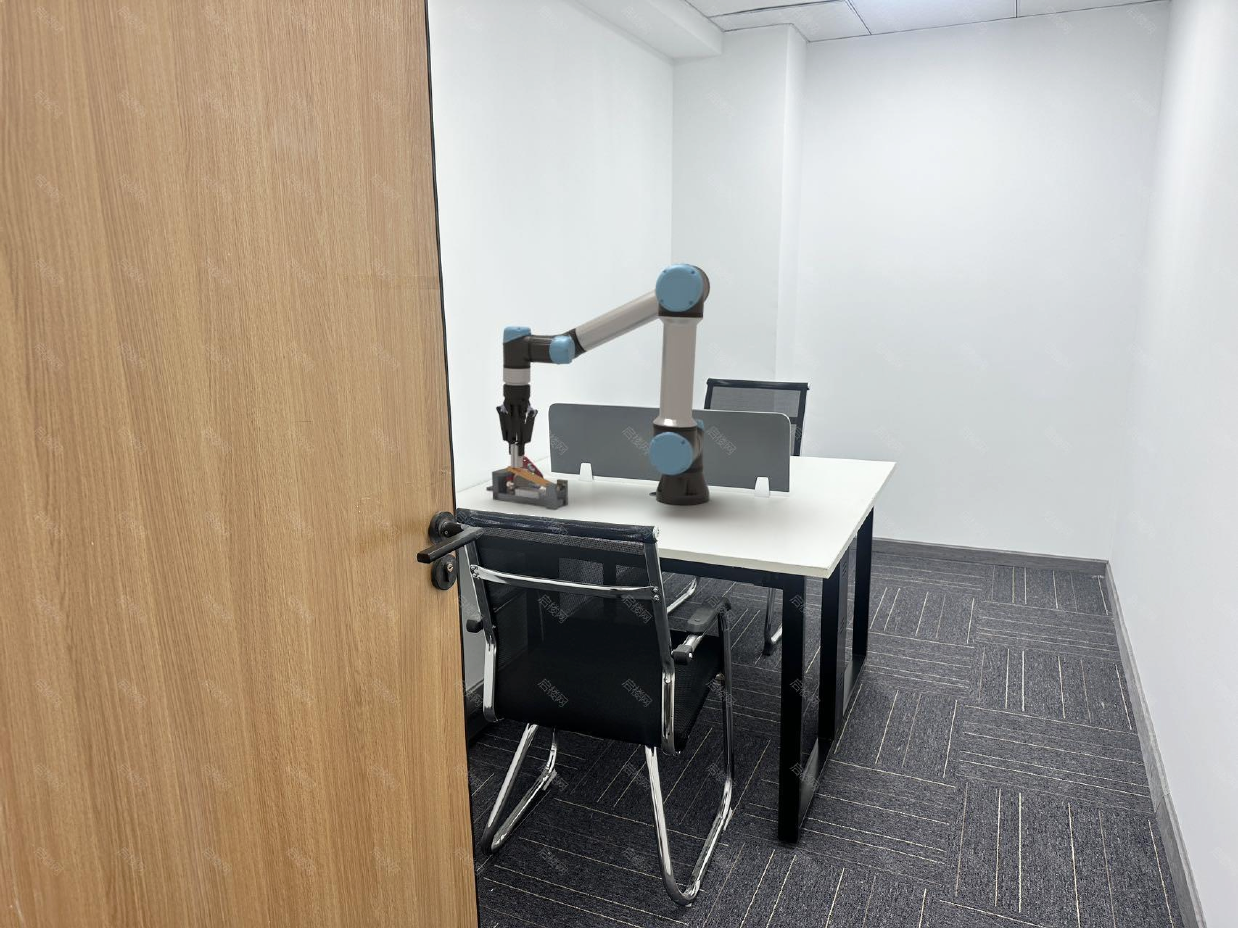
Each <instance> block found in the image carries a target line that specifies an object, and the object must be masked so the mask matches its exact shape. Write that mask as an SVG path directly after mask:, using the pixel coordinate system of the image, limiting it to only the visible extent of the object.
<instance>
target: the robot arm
mask: <svg viewBox="0 0 1238 928" xmlns="http://www.w3.org/2000/svg"><path fill="white" fill-rule="evenodd" d="M655 282H656V283H655V289H653V290H651V291H648V292H646V293H644V294H642V295H640V296H638V297H636V298H634V299H632V300H629V301H627V302H626V303H624V304H622V305H620V306H617V307H616V308H613V309H612V310H609V311H607V312H605V313H603V314H601V315H599V316H597V317H595V318H593V319H591V320H588V321H587V322H585V323H582V324H580V325H578V326H576V327H574V328H572V329H569V330H568V331H565V332H563V333H561V334H560V333H559V334H552V335H551V334H550V335H547V334H546V335H544V334H542V335H541V334H532V331H531V328H530V326H529V327H528V326H516V325H515V326H506V327H505V328H504V329H503V336H502V337H503V338H502V358H503V361H502V362H503V364H502V367H503V368H502V382H504V384H503V386H502V396H503V397H504V399H503V402H502V404H500V405H499V406H498V405H497V406H496V407H495V410H496V412H497V415H498V419H499V420H498V421H499V424H500V430H501V431H500V432H501V436H502V441H503V442H507V443H508V454H509V455H510V466H511V467H512V468H513V467H515V468H520V467H523V456H525V454H526V453H525V452H526V451H525V448H526V447H525V446H526V444H529V443H531V442H532V438H533V437H532V436H533V431H534V426H535V421H536V418H537V415H538V414H539V410H538V409H534V408H533V407H532V406H531V404H532V403H531V402H530V397H531V387H532V386H531V384H529V383H531V365H532V364H531V363H533V364H534V363H539V364H553V365H555V364H556V365H570V364H571V363H572V362H573V360H576V359H577V358H578V357H580V356H581V355H583V354H585V353H587V352H589V351H591V350H594V349H596V348H598V347H600V346H602V345H604V344H607V343H608V342H611V341H614V340H615V339H617V338H619V337H621V336H624V335H627V334H628V333H630V332H632V331H634V330H636V329H640V328H641V327H643V326H645V325H648V324H649V323H651V322H654V321H656V320H658V319H659V320H660V321H661V322H662V324H663V325H662V326H663V328H662V329H663V331H662V349H661V351H662V352H661V368H660V369H661V371H660V372H661V373H660V375H661V376H660V390H659V391H660V393H659V394H660V396H659V413H658V416H657V417H656V418H655V419H654V420H653V422H652V423H653V424H652V439H651V441H650V443H649V446H648V450H647V453H648V454H647V455H648V458H649V459H648V460H649V462H650V464H651V465H652V466H653V468H654V469H655V470H656V471H657V472H659V473H661V476H660V478H659V481H658V485H657V487H656V491H655V499H656V500H657V501H658V502H661V503H664V504H668V505H669V504H670V505H679V506H680V505H681V506H682V505H683V506H685V505H687V506H688V505H689V506H690V505H698V504H703V503H707V502H708V501H709V500H710V490H709V486H708V483H707V479H706V477H705V472H704V463H705V462H704V461H705V460H704V459H705V458H704V457H705V455H704V453H705V432H706V429H705V425H704V424H705V423H704V422H703V420H702V419H694V417H693V415H692V414H693V403H694V402H693V401H694V399H693V397H694V383H695V382H694V381H695V380H694V379H695V363H696V347H697V346H696V345H697V344H696V343H697V328H698V324H700V322H701V321H702V320H704V311H705V310H704V309H705V303H706V301H707V299H708V297H709V295H710V293H711V292H710V290H711V282H710V279H709V277H708V275H707V274H706V272H705V271H704V270H703V269H701V268H700V267H698V266H697V265H693V264H688V263H684V262H681V263H675V264H672V265H670V266H668V267H666V268H664V270H663V271H661V272H660V273H659V275H658V277H657V280H656V281H655Z"/></svg>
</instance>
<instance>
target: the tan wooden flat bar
mask: <svg viewBox="0 0 1238 928" xmlns="http://www.w3.org/2000/svg"><path fill="white" fill-rule="evenodd" d="M506 468H507V470H508V471H511V472H513V473H515V474H517V475H519V476H521V477H523V478H525V479H528V480H530V481H532V482H534V483H536V484H538V485H540V486H541V487H543V488H545V489H546V483H554V484H556V483H555V482H552V481H550V480H548V479H546V478H542V477H540V476H537V475H535V474H534V473H531V472H529V471H527V470H525V469H522V468H515V467H513V468H512V467H511V465H508V466H507V467H506ZM560 490H562V486H561V485H557V491H560Z"/></svg>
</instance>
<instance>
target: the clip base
mask: <svg viewBox="0 0 1238 928" xmlns="http://www.w3.org/2000/svg"><path fill="white" fill-rule="evenodd" d="M502 469H503V468H502ZM502 469H497V470H493V471H491V478H492V479H491V481H492V485H491V486H493V491H492V500H495V501H496V500H497V501H502V502H511V503H517V504H522V505H523V504H524V505H530V506H535V507H537V506H538V507H543V508H546V509H547V510H548V509H549V510H558V509H559V508H562V507H564V506H569V480H568V479H561V478H557V479H556V483H555V482H553V483H546V488H545V489H541V488H540V489H536V488H529V487H521V488H517V489H515V491H508V490H507V475H511V474H512V472H511V471H508V470H502ZM554 483H555V484H554ZM557 485H561V486H562V490H560V491H557Z"/></svg>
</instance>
